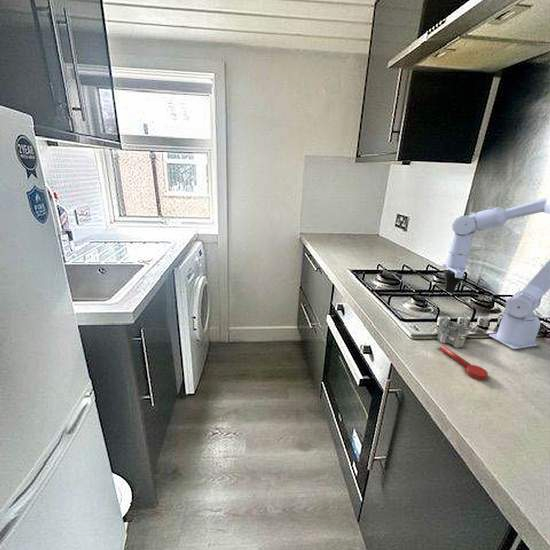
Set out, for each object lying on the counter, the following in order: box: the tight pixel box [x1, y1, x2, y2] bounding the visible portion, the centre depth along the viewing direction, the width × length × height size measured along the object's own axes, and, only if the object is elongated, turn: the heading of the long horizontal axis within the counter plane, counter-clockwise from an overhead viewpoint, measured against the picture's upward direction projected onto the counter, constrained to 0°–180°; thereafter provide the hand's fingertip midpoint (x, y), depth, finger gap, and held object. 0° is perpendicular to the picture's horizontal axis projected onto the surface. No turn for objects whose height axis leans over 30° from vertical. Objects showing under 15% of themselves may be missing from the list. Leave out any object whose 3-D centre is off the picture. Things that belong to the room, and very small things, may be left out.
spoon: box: [439, 344, 489, 381], centre depth 79 cm, size 4×14×1 cm, turn 16°
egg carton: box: [436, 318, 470, 348], centre depth 91 cm, size 11×8×4 cm
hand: (448, 291), depth 102 cm, fingers closed
